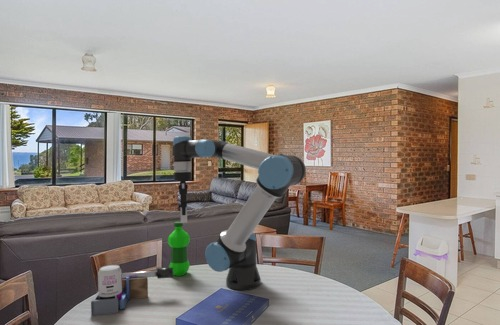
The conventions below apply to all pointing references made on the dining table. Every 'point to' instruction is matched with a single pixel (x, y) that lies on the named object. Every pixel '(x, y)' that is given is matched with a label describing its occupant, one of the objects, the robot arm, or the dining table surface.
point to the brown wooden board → (137, 287)
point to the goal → (104, 305)
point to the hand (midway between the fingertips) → (183, 220)
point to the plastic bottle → (179, 250)
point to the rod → (159, 274)
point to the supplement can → (110, 283)
